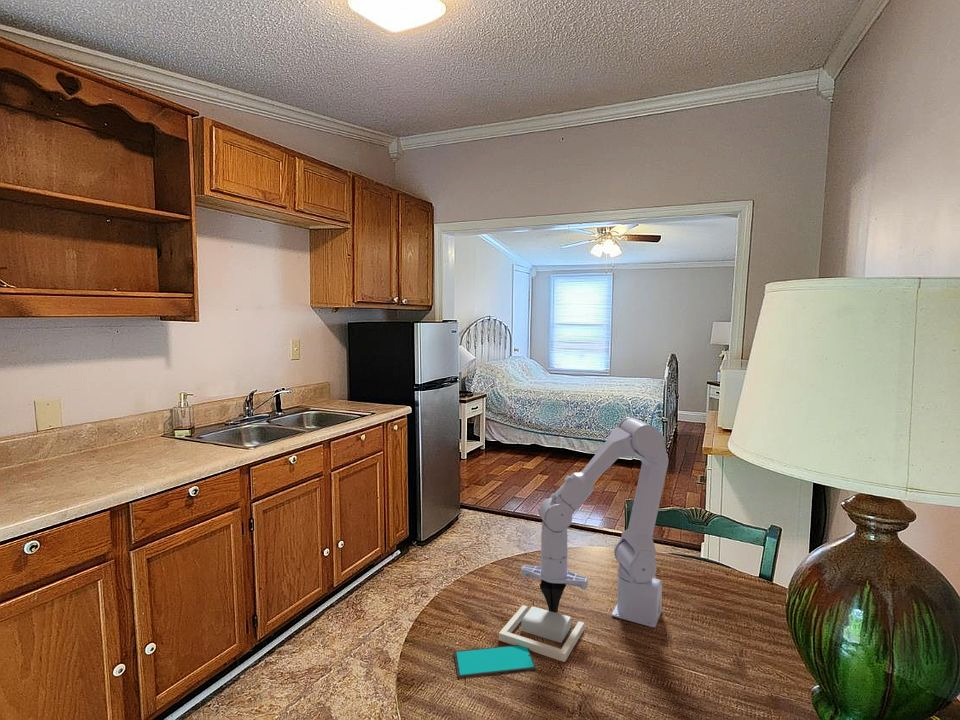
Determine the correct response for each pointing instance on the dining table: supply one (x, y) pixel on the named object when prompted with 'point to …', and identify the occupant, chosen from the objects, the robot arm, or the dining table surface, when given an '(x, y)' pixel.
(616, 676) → the dining table surface
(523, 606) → the cream u-shaped bracket
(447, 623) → the dining table surface
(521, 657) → the smartphone
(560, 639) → the light gray box
